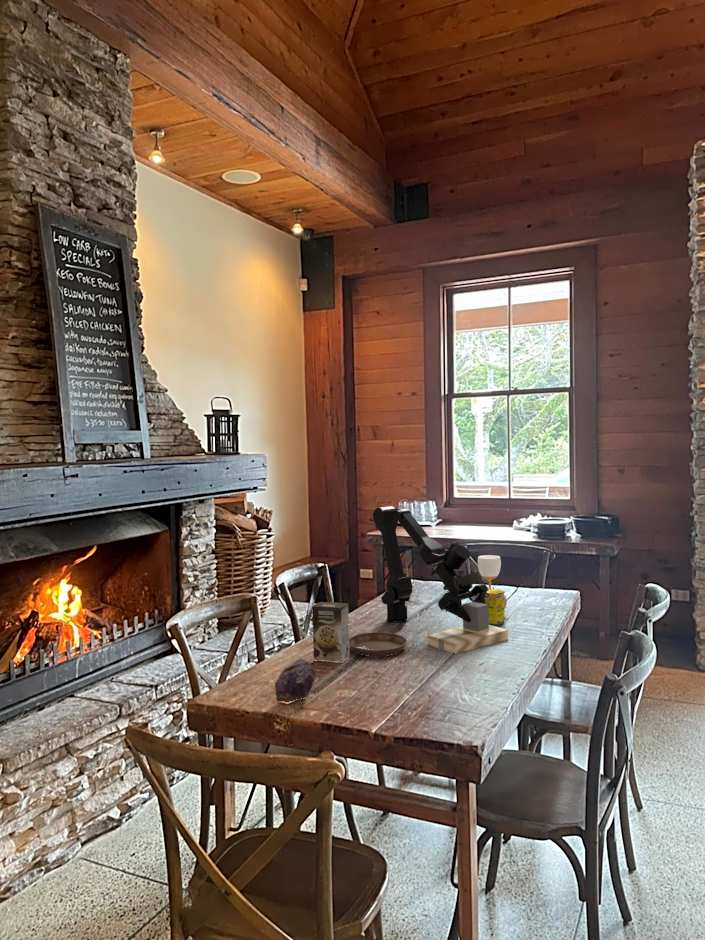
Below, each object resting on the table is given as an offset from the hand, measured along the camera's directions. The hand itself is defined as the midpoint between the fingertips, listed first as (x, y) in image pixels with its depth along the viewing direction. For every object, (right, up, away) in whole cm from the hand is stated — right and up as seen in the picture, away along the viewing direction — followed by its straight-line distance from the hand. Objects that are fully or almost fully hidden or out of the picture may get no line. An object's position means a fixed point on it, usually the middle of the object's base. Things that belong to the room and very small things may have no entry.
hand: (479, 618), depth 222 cm
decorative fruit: (+11, -5, +29) cm, 31 cm away
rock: (-52, -11, -43) cm, 68 cm away
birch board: (-3, -7, -1) cm, 8 cm away
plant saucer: (-31, -9, -5) cm, 33 cm away
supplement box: (+8, -6, +19) cm, 22 cm away
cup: (+14, -4, +55) cm, 57 cm away
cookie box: (-45, -9, -13) cm, 47 cm away
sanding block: (-1, -4, +1) cm, 4 cm away
